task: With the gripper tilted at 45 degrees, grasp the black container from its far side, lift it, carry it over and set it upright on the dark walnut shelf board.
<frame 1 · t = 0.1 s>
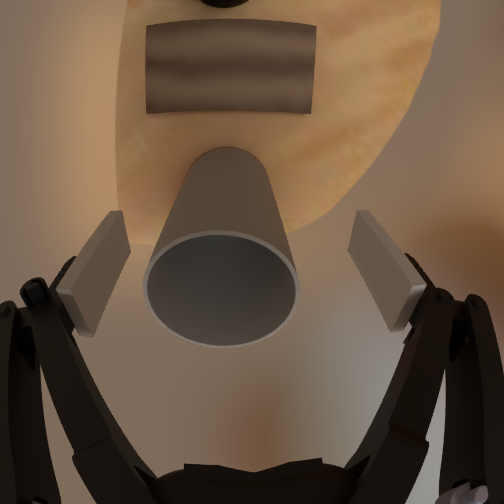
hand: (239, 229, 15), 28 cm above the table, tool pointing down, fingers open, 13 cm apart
cylinder vase: (227, 184, 43), on the table
shelf board: (229, 64, 33), on the table
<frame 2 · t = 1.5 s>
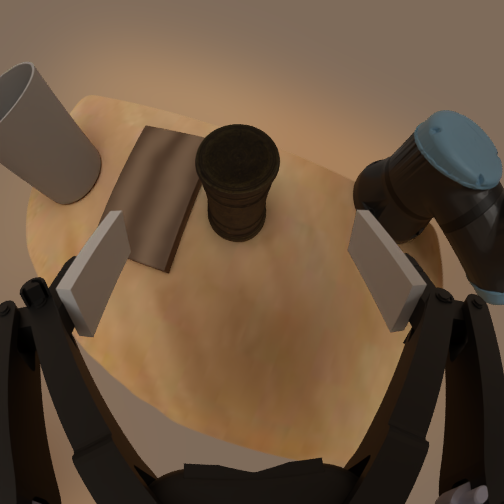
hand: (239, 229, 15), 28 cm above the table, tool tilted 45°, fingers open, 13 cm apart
container: (236, 214, 45), on the table
cylinder vase: (74, 174, 44), on the table
shelf board: (156, 196, 44), on the table
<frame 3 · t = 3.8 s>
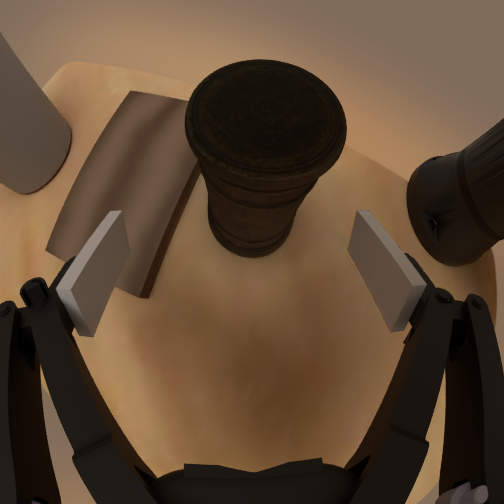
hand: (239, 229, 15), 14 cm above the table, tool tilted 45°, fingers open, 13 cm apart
container: (250, 216, 31), on the table
cylinder vase: (39, 155, 31), on the table
shelf board: (136, 185, 30), on the table
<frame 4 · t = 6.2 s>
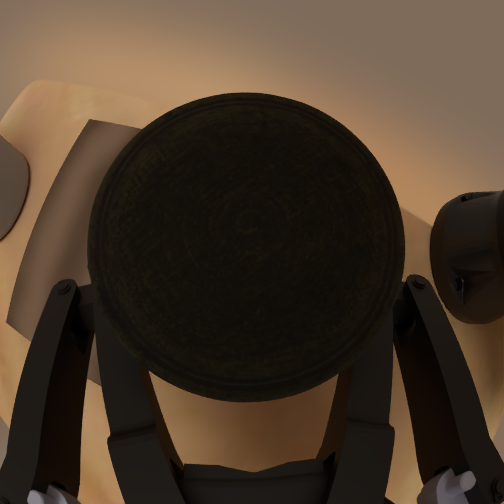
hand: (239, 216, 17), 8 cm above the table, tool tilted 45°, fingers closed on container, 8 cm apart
container: (238, 286, 24), on the table, touching gripper
shelf board: (99, 244, 24), on the table
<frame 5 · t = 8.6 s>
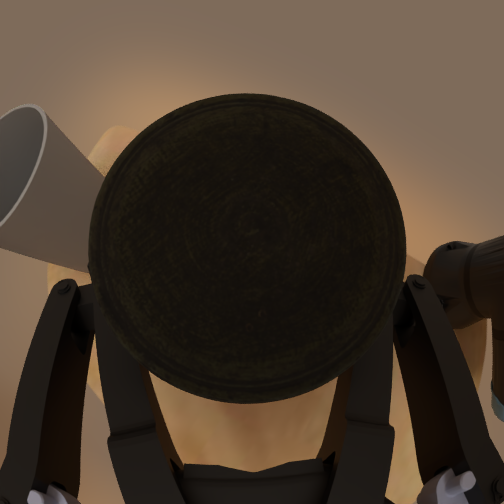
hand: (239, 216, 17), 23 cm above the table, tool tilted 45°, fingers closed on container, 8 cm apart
container: (239, 286, 24), point 15 cm above the table, touching gripper
cylinder vase: (106, 235, 40), on the table
when the fingers open (13 cm above the table, at t = 11.2 s): container drops 1 cm, resting on shelf board.
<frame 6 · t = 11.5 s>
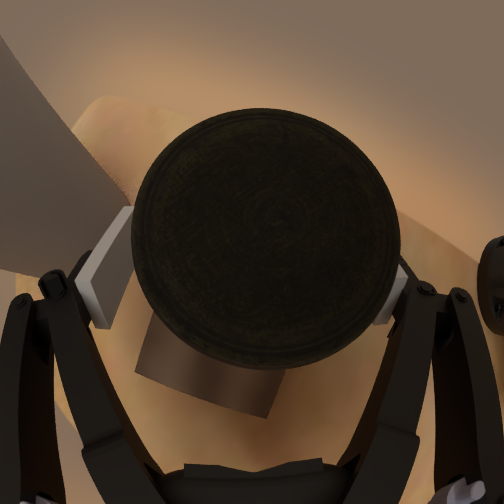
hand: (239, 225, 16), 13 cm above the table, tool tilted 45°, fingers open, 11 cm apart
container: (239, 288, 25), point 3 cm above the table, touching shelf board
cylinder vase: (86, 231, 29), on the table
shelf board: (237, 289, 28), on the table
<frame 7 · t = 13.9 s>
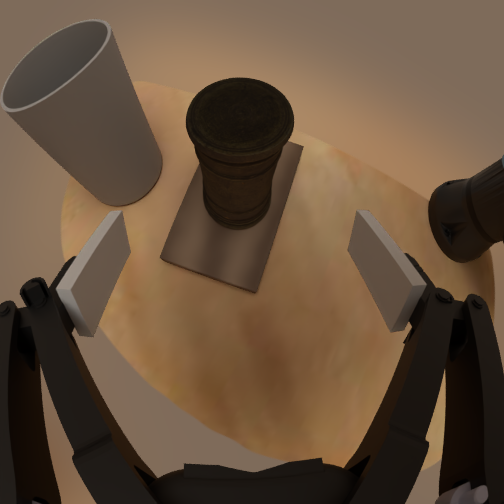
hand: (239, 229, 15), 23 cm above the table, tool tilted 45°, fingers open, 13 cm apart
container: (237, 197, 38), point 3 cm above the table, touching shelf board
cylinder vase: (126, 171, 41), on the table
shelf board: (235, 204, 40), on the table
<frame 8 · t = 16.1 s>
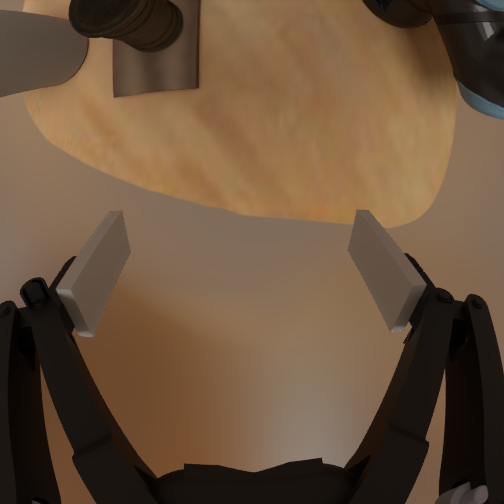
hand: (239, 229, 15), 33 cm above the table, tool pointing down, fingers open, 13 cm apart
container: (154, 26, 29), point 3 cm above the table, touching shelf board
cylinder vase: (61, 52, 31), on the table
shelf board: (158, 28, 32), on the table
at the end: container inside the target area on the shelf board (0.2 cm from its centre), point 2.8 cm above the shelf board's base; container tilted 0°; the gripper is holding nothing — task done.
